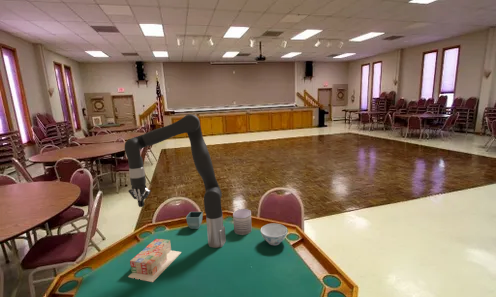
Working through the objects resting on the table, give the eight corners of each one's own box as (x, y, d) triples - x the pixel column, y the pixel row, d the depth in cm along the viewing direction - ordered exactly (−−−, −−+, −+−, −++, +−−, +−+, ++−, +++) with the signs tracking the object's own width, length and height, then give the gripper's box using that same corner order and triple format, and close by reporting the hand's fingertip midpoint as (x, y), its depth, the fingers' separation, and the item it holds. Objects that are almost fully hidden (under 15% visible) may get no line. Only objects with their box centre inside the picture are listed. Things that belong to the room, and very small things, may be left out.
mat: (181, 252, 140) (181, 252, 140) (152, 282, 117) (152, 281, 117) (159, 249, 144) (159, 248, 144) (128, 277, 122) (128, 276, 121)
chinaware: (285, 234, 153) (284, 222, 152) (289, 248, 138) (289, 235, 137) (260, 236, 153) (259, 224, 151) (262, 250, 138) (261, 237, 137)
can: (255, 229, 161) (254, 211, 159) (243, 236, 153) (242, 218, 151) (242, 224, 169) (241, 207, 167) (230, 231, 160) (229, 213, 158)
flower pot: (191, 224, 173) (190, 211, 171) (203, 224, 172) (202, 211, 170) (186, 230, 164) (185, 217, 162) (200, 230, 163) (199, 217, 162)
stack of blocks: (155, 238, 143) (175, 240, 140) (156, 248, 144) (176, 250, 141) (129, 261, 123) (152, 263, 120) (131, 272, 124) (153, 275, 121)
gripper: (152, 174, 137) (156, 204, 140) (132, 173, 140) (136, 203, 144) (143, 178, 130) (147, 210, 133) (122, 177, 133) (126, 208, 136)
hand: (141, 206), depth 138 cm, fingers closed
